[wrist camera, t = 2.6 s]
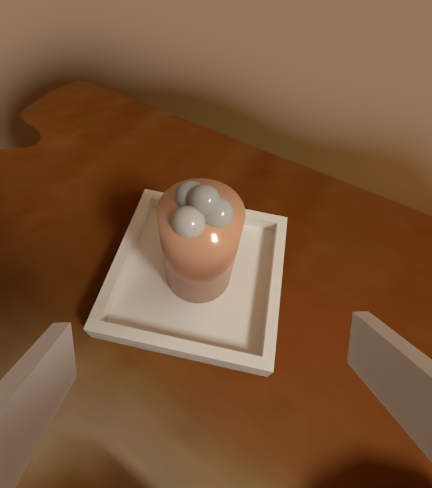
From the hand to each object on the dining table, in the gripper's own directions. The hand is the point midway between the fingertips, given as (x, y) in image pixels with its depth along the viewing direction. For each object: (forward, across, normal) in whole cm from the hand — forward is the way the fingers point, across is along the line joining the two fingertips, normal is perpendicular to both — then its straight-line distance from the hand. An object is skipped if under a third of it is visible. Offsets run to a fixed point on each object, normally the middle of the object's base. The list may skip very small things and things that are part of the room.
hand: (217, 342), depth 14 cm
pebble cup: (+16, 0, -2) cm, 16 cm away
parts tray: (+17, 0, -3) cm, 17 cm away
